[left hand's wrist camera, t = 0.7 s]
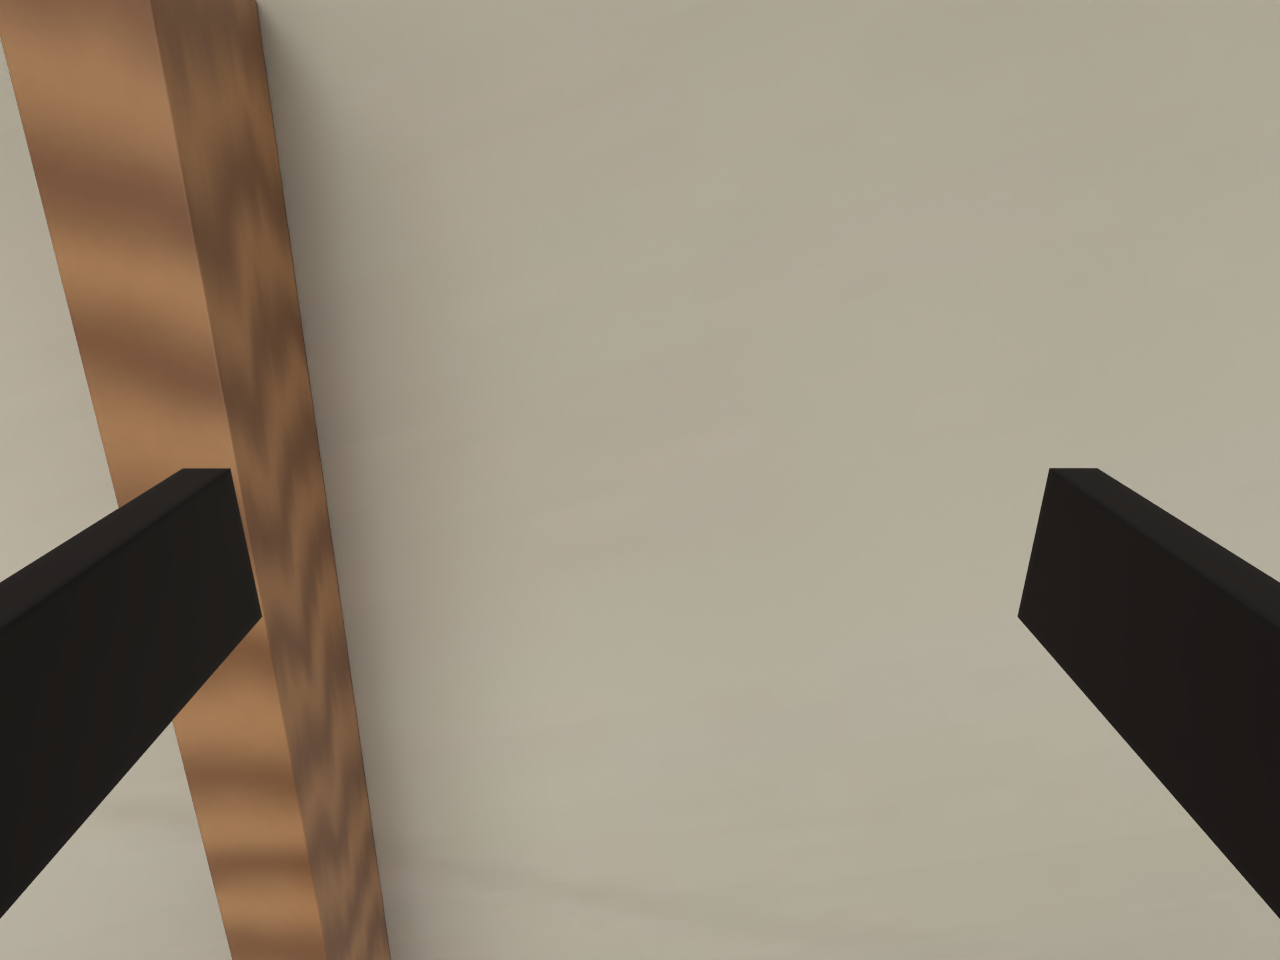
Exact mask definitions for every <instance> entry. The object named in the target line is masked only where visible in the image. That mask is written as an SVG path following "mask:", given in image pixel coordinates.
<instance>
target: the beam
mask: <svg viewBox="0 0 1280 960" xmlns="http://www.w3.org/2000/svg"><path fill="white" fill-rule="evenodd" d="M0 37H1V41H2V45H3V49H4V53H5V57H6V61H7V65H8V69H9V73H10V77H11V81H12V85H13V89H14V93H15V97H16V101H17V105H18V109H19V113H20V117H21V121H22V124H23V128H24V132H25V136H26V140H27V144H28V148H29V152H30V156H31V160H32V164H33V168H34V172H35V176H36V180H37V184H38V188H39V192H40V196H41V200H42V204H43V208H44V212H45V216H46V220H47V224H48V228H49V232H50V236H51V240H52V244H53V248H54V252H55V256H56V260H57V264H58V268H59V272H60V276H61V280H62V284H63V288H64V292H65V296H66V299H67V303H68V307H69V311H70V315H71V319H72V323H73V327H74V331H75V335H76V339H77V343H78V347H79V351H80V355H81V359H82V363H83V367H84V371H85V375H86V379H87V383H88V387H89V391H90V395H91V399H92V403H93V407H94V411H95V415H96V419H97V423H98V427H99V431H100V435H101V439H102V443H103V447H104V451H105V455H106V459H107V463H108V467H109V470H110V474H111V478H112V482H113V486H114V490H115V494H116V498H117V502H118V506H119V508H120V507H122V506H123V505H125V504H127V503H128V502H130V501H131V500H133V499H135V498H136V497H138V496H139V495H141V494H142V493H144V492H146V491H147V490H149V489H150V488H152V487H154V486H155V485H157V484H158V483H160V482H162V481H163V480H165V479H166V478H168V477H170V476H171V475H173V474H174V473H176V472H178V471H179V470H181V469H182V468H231V473H232V478H233V482H234V487H235V492H236V496H237V501H238V506H239V510H240V515H241V520H242V524H243V529H244V534H245V538H246V543H247V548H248V552H249V557H250V561H251V566H252V571H253V575H254V580H255V585H256V589H257V594H258V599H259V603H260V608H261V613H262V618H261V619H260V620H259V621H258V622H257V623H256V625H255V626H254V627H253V628H252V629H251V630H250V632H249V633H248V634H247V635H246V636H245V637H244V638H243V640H242V641H241V642H240V643H239V644H238V645H237V646H236V648H235V649H234V650H233V651H232V652H231V653H230V655H229V656H228V657H227V658H226V659H225V660H224V661H223V663H222V664H221V665H220V666H219V667H218V668H217V670H216V671H215V672H214V673H213V674H212V675H211V676H210V678H209V679H208V680H207V681H206V682H205V683H204V684H203V686H202V687H201V688H200V689H199V690H198V691H197V693H196V694H195V695H194V696H193V697H192V698H191V699H190V701H189V702H188V703H187V704H186V705H185V706H184V708H183V709H182V710H181V711H180V712H179V713H178V714H177V716H176V717H175V718H174V719H173V720H172V721H173V725H174V729H175V733H176V737H177V741H178V745H179V749H180V753H181V757H182V761H183V765H184V769H185V773H186V777H187V781H188V785H189V789H190V793H191V797H192V801H193V805H194V809H195V813H196V817H197V820H198V824H199V828H200V832H201V836H202V840H203V844H204V848H205V852H206V856H207V860H208V864H209V868H210V872H211V876H212V880H213V884H214V888H215V892H216V896H217V900H218V904H219V908H220V912H221V916H222V920H223V924H224V928H225V932H226V936H227V940H228V944H229V948H230V952H231V956H232V960H390V953H389V946H388V938H387V931H386V924H385V917H384V910H383V903H382V896H381V889H380V881H379V874H378V867H377V860H376V853H375V846H374V839H373V832H372V824H371V817H370V810H369V803H368V796H367V789H366V782H365V775H364V767H363V760H362V753H361V746H360V739H359V732H358V725H357V718H356V710H355V703H354V696H353V689H352V682H351V675H350V668H349V661H348V653H347V646H346V639H345V632H344V625H343V618H342V611H341V604H340V596H339V589H338V582H337V575H336V568H335V561H334V554H333V547H332V539H331V532H330V525H329V518H328V511H327V504H326V497H325V490H324V483H323V475H322V468H321V461H320V454H319V447H318V440H317V433H316V426H315V418H314V411H313V404H312V397H311V390H310V383H309V376H308V369H307V361H306V354H305V347H304V340H303V333H302V326H301V319H300V312H299V304H298V297H297V290H296V283H295V276H294V269H293V262H292V255H291V247H290V240H289V233H288V226H287V219H286V212H285V205H284V198H283V190H282V183H281V176H280V169H279V162H278V155H277V148H276V141H275V133H274V126H273V119H272V112H271V105H270V98H269V91H268V84H267V76H266V69H265V62H264V55H263V48H262V41H261V34H260V27H259V19H258V12H257V5H256V1H255V0H0Z"/></svg>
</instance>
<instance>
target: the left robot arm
mask: <svg viewBox="0 0 1280 960" xmlns="http://www.w3.org/2000/svg"><path fill="white" fill-rule="evenodd" d="M261 618H262V613H261V608H260V603H259V599H258V594H257V589H256V585H255V580H254V575H253V571H252V566H251V561H250V557H249V552H248V548H247V543H246V538H245V534H244V529H243V524H242V520H241V515H240V510H239V506H238V501H237V496H236V492H235V487H234V482H233V478H232V473H231V468H182V469H181V470H179V471H178V472H176V473H174V474H173V475H171V476H170V477H168V478H166V479H165V480H163V481H162V482H160V483H158V484H157V485H155V486H154V487H152V488H150V489H149V490H147V491H146V492H144V493H142V494H141V495H139V496H138V497H136V498H135V499H133V500H131V501H130V502H128V503H127V504H125V505H123V506H122V507H120V508H119V509H117V510H115V511H114V512H112V513H111V514H109V515H107V516H106V517H104V518H103V519H101V520H99V521H98V522H96V523H95V524H93V525H91V526H90V527H88V528H87V529H85V530H83V531H82V532H80V533H79V534H77V535H75V536H74V537H72V538H71V539H69V540H67V541H66V542H64V543H63V544H61V545H60V546H58V547H56V548H55V549H53V550H52V551H50V552H48V553H47V554H45V555H44V556H42V557H40V558H39V559H37V560H36V561H34V562H32V563H31V564H29V565H28V566H26V567H24V568H23V569H21V570H20V571H18V572H16V573H15V574H13V575H12V576H10V577H8V578H7V579H5V580H4V581H2V582H0V918H1V917H2V916H3V915H4V914H5V913H6V911H7V910H8V909H9V908H10V907H11V906H12V904H13V903H14V902H15V901H16V900H17V899H18V898H19V896H20V895H21V894H22V893H23V892H24V891H25V890H26V888H27V887H28V886H29V885H30V884H31V883H32V881H33V880H34V879H35V878H36V877H37V876H38V875H39V873H40V872H41V871H42V870H43V869H44V868H45V866H46V865H47V864H48V863H49V862H50V861H51V860H52V858H53V857H54V856H55V855H56V854H57V853H58V852H59V850H60V849H61V848H62V847H63V846H64V845H65V843H66V842H67V841H68V840H69V839H70V838H71V837H72V835H73V834H74V833H75V832H76V831H77V830H78V828H79V827H80V826H81V825H82V824H83V823H84V822H85V820H86V819H87V818H88V817H89V816H90V815H91V813H92V812H93V811H94V810H95V809H96V808H97V807H98V805H99V804H100V803H101V802H102V801H103V800H104V799H105V797H106V796H107V795H108V794H109V793H110V792H111V790H112V789H113V788H114V787H115V786H116V785H117V784H118V782H119V781H120V780H121V779H122V778H123V777H124V775H125V774H126V773H127V772H128V771H129V770H130V769H131V767H132V766H133V765H134V764H135V763H136V762H137V761H138V759H139V758H140V757H141V756H142V755H143V754H144V752H145V751H146V750H147V749H148V748H149V747H150V746H151V744H152V743H153V742H154V741H155V740H156V739H157V737H158V736H159V735H160V734H161V733H162V732H163V731H164V729H165V728H166V727H167V726H168V725H169V724H170V723H171V721H172V720H173V719H174V718H175V717H176V716H177V714H178V713H179V712H180V711H181V710H182V709H183V708H184V706H185V705H186V704H187V703H188V702H189V701H190V699H191V698H192V697H193V696H194V695H195V694H196V693H197V691H198V690H199V689H200V688H201V687H202V686H203V684H204V683H205V682H206V681H207V680H208V679H209V678H210V676H211V675H212V674H213V673H214V672H215V671H216V670H217V668H218V667H219V666H220V665H221V664H222V663H223V661H224V660H225V659H226V658H227V657H228V656H229V655H230V653H231V652H232V651H233V650H234V649H235V648H236V646H237V645H238V644H239V643H240V642H241V641H242V640H243V638H244V637H245V636H246V635H247V634H248V633H249V632H250V630H251V629H252V628H253V627H254V626H255V625H256V623H257V622H258V621H259V620H260V619H261ZM1018 618H1019V619H1020V620H1021V621H1022V622H1023V623H1024V625H1025V626H1026V627H1027V628H1028V629H1029V630H1030V632H1031V633H1032V634H1033V635H1034V636H1035V637H1036V638H1037V640H1038V641H1039V642H1040V643H1041V644H1042V645H1043V646H1044V648H1045V649H1046V650H1047V651H1048V652H1049V653H1050V655H1051V656H1052V657H1053V658H1054V659H1055V660H1056V661H1057V663H1058V664H1059V665H1060V666H1061V667H1062V668H1063V670H1064V671H1065V672H1066V673H1067V674H1068V675H1069V676H1070V678H1071V679H1072V680H1073V681H1074V682H1075V683H1076V684H1077V686H1078V687H1079V688H1080V689H1081V690H1082V691H1083V693H1084V694H1085V695H1086V696H1087V697H1088V698H1089V699H1090V701H1091V702H1092V703H1093V704H1094V705H1095V706H1096V708H1097V709H1098V710H1099V711H1100V712H1101V713H1102V714H1103V716H1104V717H1105V718H1106V719H1107V720H1108V721H1109V723H1110V724H1111V725H1112V726H1113V727H1114V728H1115V729H1116V731H1117V732H1118V733H1119V734H1120V735H1121V736H1122V737H1123V739H1124V740H1125V741H1126V742H1127V743H1128V744H1129V746H1130V747H1131V748H1132V749H1133V750H1134V751H1135V752H1136V754H1137V755H1138V756H1139V757H1140V758H1141V759H1142V761H1143V762H1144V763H1145V764H1146V765H1147V766H1148V767H1149V769H1150V770H1151V771H1152V772H1153V773H1154V774H1155V775H1156V777H1157V778H1158V779H1159V780H1160V781H1161V782H1162V784H1163V785H1164V786H1165V787H1166V788H1167V789H1168V790H1169V792H1170V793H1171V794H1172V795H1173V796H1174V797H1175V799H1176V800H1177V801H1178V802H1179V803H1180V804H1181V805H1182V807H1183V808H1184V809H1185V810H1186V811H1187V812H1188V813H1189V815H1190V816H1191V817H1192V818H1193V819H1194V820H1195V822H1196V823H1197V824H1198V825H1199V826H1200V827H1201V828H1202V830H1203V831H1204V832H1205V833H1206V834H1207V835H1208V837H1209V838H1210V839H1211V840H1212V841H1213V842H1214V843H1215V845H1216V846H1217V847H1218V848H1219V849H1220V850H1221V852H1222V853H1223V854H1224V855H1225V856H1226V857H1227V858H1228V860H1229V861H1230V862H1231V863H1232V864H1233V865H1234V866H1235V868H1236V869H1237V870H1238V871H1239V872H1240V873H1241V875H1242V876H1243V877H1244V878H1245V879H1246V880H1247V881H1248V883H1249V884H1250V885H1251V886H1252V887H1253V888H1254V890H1255V891H1256V892H1257V893H1258V894H1259V895H1260V896H1261V898H1262V899H1263V900H1264V901H1265V902H1266V903H1267V904H1268V906H1269V907H1270V908H1271V909H1272V910H1273V911H1274V913H1275V914H1276V915H1277V916H1278V917H1279V918H1280V582H1278V581H1276V580H1275V579H1273V578H1272V577H1270V576H1268V575H1267V574H1265V573H1264V572H1262V571H1260V570H1259V569H1257V568H1256V567H1254V566H1252V565H1251V564H1249V563H1248V562H1246V561H1244V560H1243V559H1241V558H1240V557H1238V556H1236V555H1235V554H1233V553H1232V552H1230V551H1228V550H1227V549H1225V548H1224V547H1222V546H1220V545H1219V544H1217V543H1216V542H1214V541H1213V540H1211V539H1209V538H1208V537H1206V536H1205V535H1203V534H1201V533H1200V532H1198V531H1197V530H1195V529H1193V528H1192V527H1190V526H1189V525H1187V524H1185V523H1184V522H1182V521H1181V520H1179V519H1177V518H1176V517H1174V516H1173V515H1171V514H1169V513H1168V512H1166V511H1165V510H1163V509H1161V508H1160V507H1158V506H1157V505H1155V504H1153V503H1152V502H1150V501H1149V500H1147V499H1145V498H1144V497H1142V496H1141V495H1139V494H1138V493H1136V492H1134V491H1133V490H1131V489H1130V488H1128V487H1126V486H1125V485H1123V484H1122V483H1120V482H1118V481H1117V480H1115V479H1114V478H1112V477H1110V476H1109V475H1107V474H1106V473H1104V472H1102V471H1101V470H1099V469H1098V468H1049V473H1048V478H1047V482H1046V487H1045V492H1044V496H1043V501H1042V506H1041V510H1040V515H1039V520H1038V524H1037V529H1036V534H1035V538H1034V543H1033V547H1032V552H1031V557H1030V561H1029V566H1028V571H1027V575H1026V580H1025V585H1024V589H1023V594H1022V599H1021V603H1020V608H1019V613H1018Z"/></svg>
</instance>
